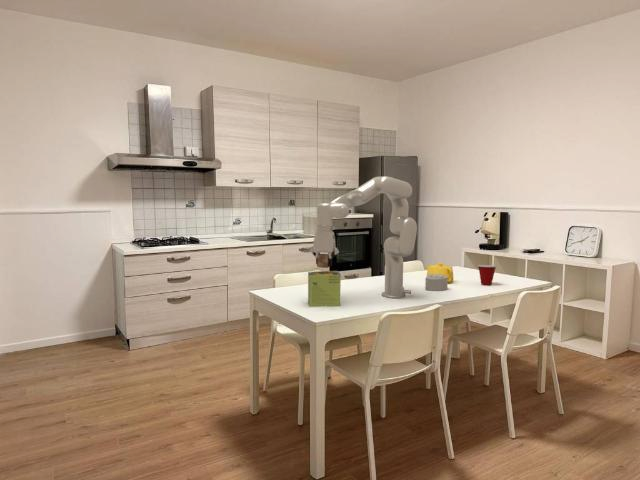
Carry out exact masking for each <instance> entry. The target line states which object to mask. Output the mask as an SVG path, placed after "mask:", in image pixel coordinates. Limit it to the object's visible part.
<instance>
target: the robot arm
mask: <svg viewBox="0 0 640 480" xmlns="http://www.w3.org/2000/svg"><path fill="white" fill-rule="evenodd" d="M412 193H413V187H412V185H411V184H410V183H409V182H407V181H405V180H401V179H398V178H395V177H392V176H386V175H384V176H374V177H373V178H371V179H369V180H368V181H366V182H365V183H363V184H362V185H360V186H358V187H357V188H356V189H354V190H350V191H349V192H347V193H345V194H343V195H340V196H339V197H337V198H335V199H334V200H332V201H331V202H329V203H325V202H324V203H323V202H322V203H318V204H317V205H316V231H315V233H314V237H313V245H312V246H311V248H310V249H309V252H310V253H311V254H312V255H313V256H314V257H315V264H316V267H318V255H319V254H321V253H326V254H328V255H329V259H328V268H329V267H332V266H333V258H334V257H336V255H337V254H339V253H340V251H339V249H338V248H337V247H336V246H337V245H336V236H335V232H334V231H335V230H336V226H333V219H340V220H341V219H345V218H347V217H348V216H349V214H350V208H353V207H357V206H359V207H360V206H362V205H365V204H366V203H368V202H369V201H371V200H372V199H374V198H375V197H377V196H378V195H381V194H385V195H386V196H387V198H388V199H389V200H390V203H391V205H392V206H391V207H392V209H391V217H390V222H389V230H390V232H391V233H392V234H395V235H399V236H390V237H388V238H386V240H384V243H383V250H384V251H383V252H384V258H385V259H384V261H385V263H384V265H385V266H384V291H383V292H381V296H382V297H384V298H388V299H389V298H390V299H401V298H405V297H406V294H407V295H411V294H412V290H411V289H406V288H405V287H404V286H403V285H404V259H403V258H405V257H406V258H407V257H409V256H411V255H412V253H413V251H414V249H415V243H416V239H417V231H418V225H417V224H418V223H417V222H416V220H415V219H414V218H412V217H410V216H409V209H410V208H409V203H408V200H407V199H408V198H410V197H411V196H412ZM333 230H334V231H333Z"/></svg>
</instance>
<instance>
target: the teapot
mask: <svg viewBox="0 0 640 480" xmlns="http://www.w3.org/2000/svg"><path fill="white" fill-rule="evenodd" d="M425 268H426V270H427V271H426V277H427V276H428V275H429V274H433V275H435V274H442V275H444V276H445V277H448V284H451V283H452V284H453V282H454V270H453V267H452V266H449V265H444V263H443V262H437V264H433V265H426V266H425Z"/></svg>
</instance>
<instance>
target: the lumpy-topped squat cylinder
mask: <svg viewBox="0 0 640 480" xmlns="http://www.w3.org/2000/svg"><path fill="white" fill-rule="evenodd" d="M448 284H449V283H448V277H445V276H444V275H442V274H435V275H433V274H429V275H428V276H427V275H426V277H425V286H424V287H425V291H427V292H443V291H444V292H445V291H447V290H448Z"/></svg>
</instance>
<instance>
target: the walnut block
mask: <svg viewBox="0 0 640 480" xmlns="http://www.w3.org/2000/svg"><path fill="white" fill-rule="evenodd" d="M328 259H329V255H328V253H320V254H319V255H318V266H317V268H322V269H323V268H324V269H329V267H328Z"/></svg>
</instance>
